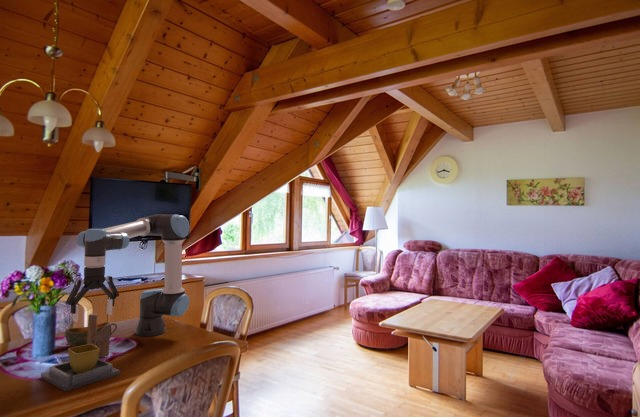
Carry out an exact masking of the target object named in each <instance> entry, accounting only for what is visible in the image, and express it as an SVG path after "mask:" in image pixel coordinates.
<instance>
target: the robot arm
mask: <svg viewBox="0 0 640 417" xmlns="http://www.w3.org/2000/svg"><path fill="white" fill-rule="evenodd" d="M190 229H191V227H190V223H189V220H188V219H187V217H186V216H184V215H179V214H165V213H164V214H162V213H158V214H153V215H149V216H144V217H140V218H137V220H135V221H131V222H128V223H127V222H126V223H123V224H118V225H113V226H109V227H105V228H87V229H86V230H85V231H80V232H79V233H78V234H77V236H76V244H77V246H78V247H80V248H84V263H83V264H84V267H83V279H75V281H74V284H73V287H72V289H71V292H70V293H69V294H68V297H67V298H66V300H65V304H66V305H69V306H70V314H72V322H75V323H78V322H79V307H80V306H79V305H78V304H79V302H80V301H81V300H82V299H83V297H84V296H85V295H86V294H87V292H89V291H90V290H92V291H93V290H96V289H101V290H102V292H103V293H104V294H105V295H107V297H108V298H107V306H106V307H107V308H106V314H107V315H108V316H112V315H113V307H114V306H115V300H116V299H117V298H118V297H120V293H119V291H118V289H117V288H116V285H115V283H114V280H113V276H111V275H106V266H105V265H106V255H107V254H106V252H107V251H112V250H113V251H115V250H118V251H120V250H123V249H126V248H128V247H129V244H130V239H133V238H135V237H139V236H140V237H145V236H157V237H158V236H159V237H161V241H162V242H163V243H164V288H153V289H147V290H144V291H142V292H141V293H140V298H139V320H138V322H137V325H136V327H135V330H134V332H135V333H134V334H135V335H136V336H141V337H152V336H153V337H155V336H159V335H162V334H164V333H165V332H166V325H165V321H164V318H163V316H170V317H181V316H183V315H184V314H185V313H186V312H187V311H188V308H189V306H190V297H189V295H188V294H185V292H186V290H185V288H184V287H182V286H183V284H182V283H183V278H182V277H183V273H182V272H183V242H184V241H185V240H186V237H187V236H188V235H189V233H190ZM105 275H106V276H105ZM105 281H106V283H107V285H108V288H109V289H108V288H107V286H106V285H105V284H104V282H105ZM82 285H83V286H82ZM81 286H82V288H81ZM80 289H81V290H80ZM79 290H80V291H79Z"/></svg>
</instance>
